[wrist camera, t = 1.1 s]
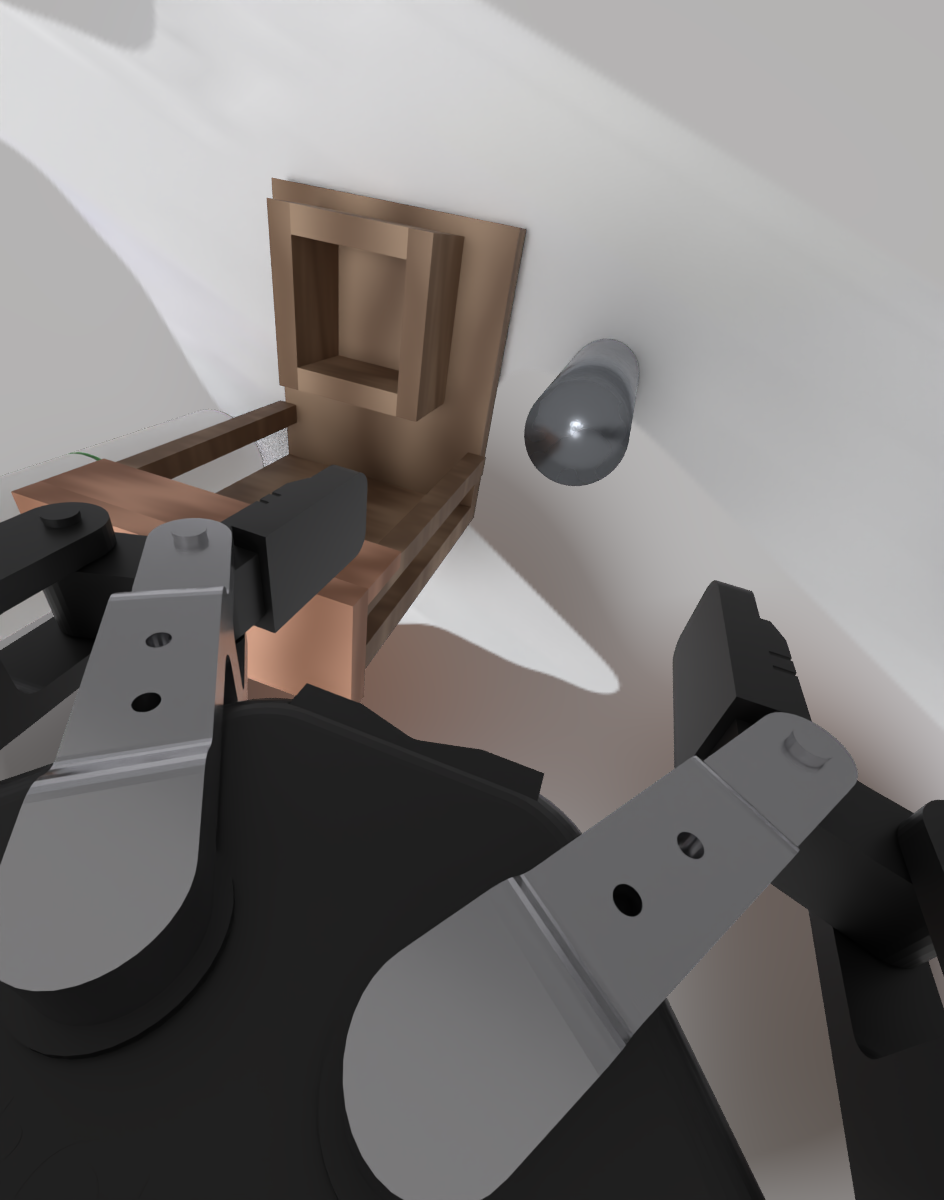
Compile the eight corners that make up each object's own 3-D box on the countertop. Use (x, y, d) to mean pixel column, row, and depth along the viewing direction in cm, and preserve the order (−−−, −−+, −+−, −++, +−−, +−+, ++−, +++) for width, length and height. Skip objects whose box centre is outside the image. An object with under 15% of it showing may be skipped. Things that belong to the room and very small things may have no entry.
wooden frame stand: (535, 231, 26) (361, 190, 11) (478, 525, 36) (350, 715, 21) (279, 179, 28) (-166, 84, 13) (296, 471, 38) (61, 608, 23)
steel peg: (650, 348, 27) (646, 395, 18) (624, 421, 29) (609, 497, 20) (578, 331, 28) (537, 369, 18) (559, 404, 30) (514, 471, 21)
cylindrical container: (213, 502, 43) (-166, 710, 23) (169, 418, 39) (-322, 577, 20) (278, 492, 40) (-89, 716, 20) (236, 400, 37) (-255, 564, 17)
